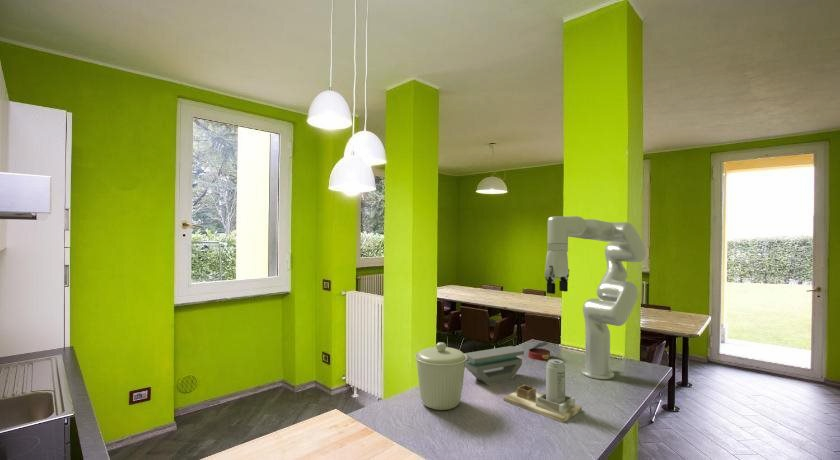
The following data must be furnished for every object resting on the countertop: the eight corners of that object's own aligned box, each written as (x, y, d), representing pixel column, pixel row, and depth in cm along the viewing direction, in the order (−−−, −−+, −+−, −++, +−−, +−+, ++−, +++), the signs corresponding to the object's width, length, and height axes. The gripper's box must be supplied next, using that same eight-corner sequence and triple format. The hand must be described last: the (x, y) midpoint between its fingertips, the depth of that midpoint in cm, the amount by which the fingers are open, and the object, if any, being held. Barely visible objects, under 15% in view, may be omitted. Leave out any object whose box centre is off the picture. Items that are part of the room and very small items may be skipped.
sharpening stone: (474, 387, 151) (474, 359, 151) (462, 381, 158) (462, 353, 158) (524, 377, 163) (524, 350, 163) (511, 371, 170) (511, 345, 170)
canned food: (534, 369, 186) (524, 350, 186) (531, 360, 196) (522, 342, 196) (556, 360, 184) (546, 341, 184) (553, 351, 194) (543, 333, 194)
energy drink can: (553, 400, 137) (553, 357, 137) (568, 407, 132) (568, 361, 132) (542, 405, 133) (542, 360, 133) (558, 411, 128) (558, 365, 129)
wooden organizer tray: (524, 390, 149) (524, 379, 149) (581, 410, 132) (581, 397, 132) (503, 400, 140) (503, 388, 140) (562, 422, 124) (562, 409, 124)
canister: (439, 389, 149) (439, 333, 150) (477, 404, 136) (478, 343, 137) (403, 403, 137) (404, 342, 137) (442, 421, 124) (442, 353, 124)
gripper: (559, 247, 163) (559, 289, 162) (537, 248, 151) (536, 293, 151) (577, 248, 157) (577, 291, 157) (555, 248, 145) (555, 295, 145)
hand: (557, 292), depth 154 cm, fingers open, 9 cm apart
